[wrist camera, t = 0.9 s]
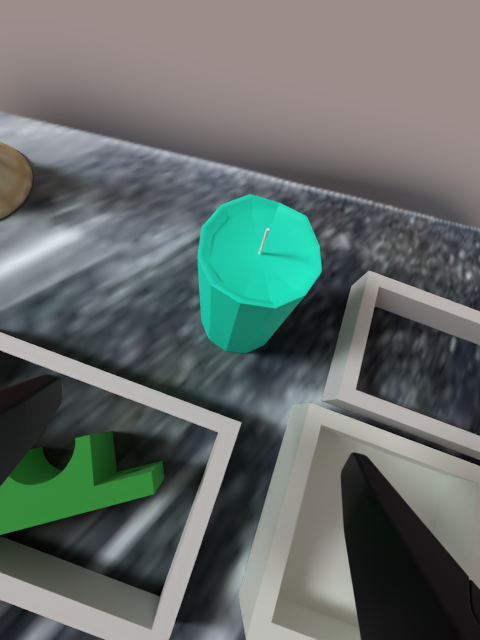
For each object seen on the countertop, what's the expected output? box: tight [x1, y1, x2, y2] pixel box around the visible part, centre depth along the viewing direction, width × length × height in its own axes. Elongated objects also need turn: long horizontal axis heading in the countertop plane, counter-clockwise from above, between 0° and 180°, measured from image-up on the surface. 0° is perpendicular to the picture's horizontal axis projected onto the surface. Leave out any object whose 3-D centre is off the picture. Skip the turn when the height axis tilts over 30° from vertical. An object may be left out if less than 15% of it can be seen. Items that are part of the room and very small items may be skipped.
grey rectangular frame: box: [322, 271, 480, 460], centre depth 23 cm, size 10×18×3 cm, turn 70°
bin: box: [238, 403, 480, 640], centre depth 19 cm, size 12×12×4 cm
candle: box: [198, 194, 322, 353], centre depth 19 cm, size 6×6×12 cm
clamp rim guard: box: [0, 332, 241, 640], centre depth 19 cm, size 12×19×3 cm, turn 70°
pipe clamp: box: [0, 431, 165, 535], centre depth 18 cm, size 11×4×5 cm, turn 102°
